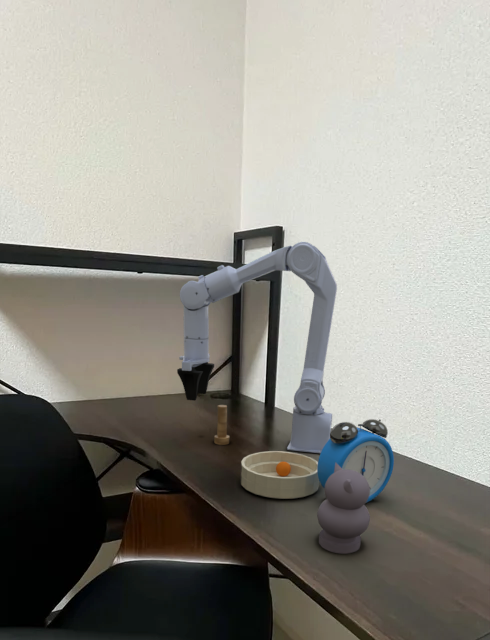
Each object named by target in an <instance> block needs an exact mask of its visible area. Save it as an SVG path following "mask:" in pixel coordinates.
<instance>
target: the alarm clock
mask: <svg viewBox="0 0 490 640" xmlns="http://www.w3.org/2000/svg"><path fill="white" fill-rule="evenodd" d="M388 433H389V430H388V428H387V426H386V424H385V423H383V422H382V420H381V419H375V418H369V419H365V420H364V421H363V422H362V423H358V424H357V425H355V424H354V423H352V422H350V421H342V422H339V423H337V424H335V425H334V426H333V427H331V432H330V439H329V440H328V442H327V443H326V444H325V446H324V447H323V449H322V451H321V453H319V456H318V460H317V461H318V466H317V473H318V478H319V484H320V485H321V487H322V488H323V489H324V490H325V484H326V481H327V480H328V478H329V477H330V476H331V475H332V474H333V473H334V469H335V462H336V463H337V464H338V465H339V466H340V467H341V468H342V469H343V470H344V469H348V470H354V471H356V472H358V473H360V474H361V475H363V476H364V477H365V478H366V480H367V482H368V484H369V487H370V494H369V498H368V500H367V502H366V503H369V502H374V501H375V499H376V498H377V497H378V496H379V495H380V494H381V493H382V492H383V491H384V490H385V488H386V486H387V485H388V483H389V482H390V479H391V477H392V474H393V471H394V467H395V466H394V465H395V456H394V451H393V448H392V445H391V444H390V443H389V442H388V441H387V437H388ZM366 503H365V504H366Z"/></svg>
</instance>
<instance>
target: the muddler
mask: <svg viewBox="0 0 490 640" xmlns="http://www.w3.org/2000/svg"><path fill="white" fill-rule="evenodd" d="M227 425H228V406H227V404H219V405H217V429H216V430H217V432H216V433H217V434H215V435H214V440H213V441H214V444H216V445H219V446H227V445H229V444H230V435H229V434H227V433H228V427H227Z"/></svg>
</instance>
